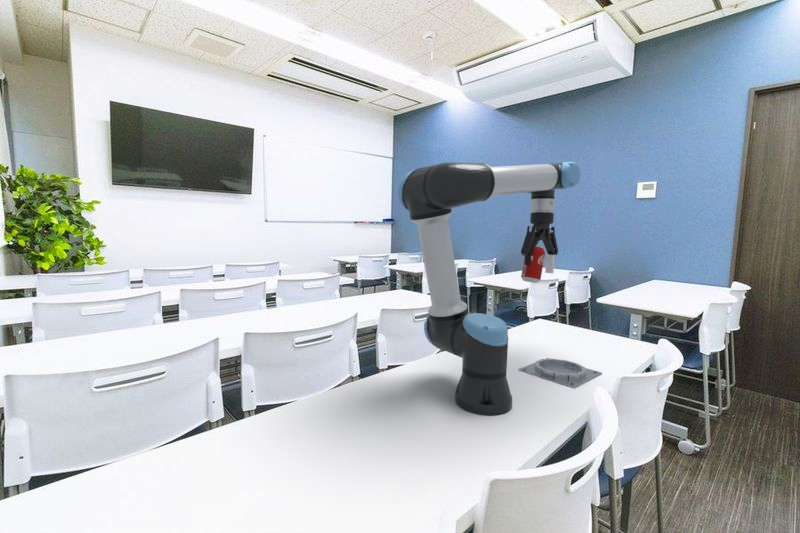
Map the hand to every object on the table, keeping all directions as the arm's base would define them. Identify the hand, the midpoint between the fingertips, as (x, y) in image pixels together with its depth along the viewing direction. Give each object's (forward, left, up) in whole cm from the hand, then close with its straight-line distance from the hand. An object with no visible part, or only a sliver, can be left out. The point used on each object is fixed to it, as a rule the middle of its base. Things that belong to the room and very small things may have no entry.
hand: (539, 274), depth 134 cm
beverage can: (-6, 0, -2) cm, 6 cm away
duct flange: (-2, -10, -32) cm, 33 cm away
